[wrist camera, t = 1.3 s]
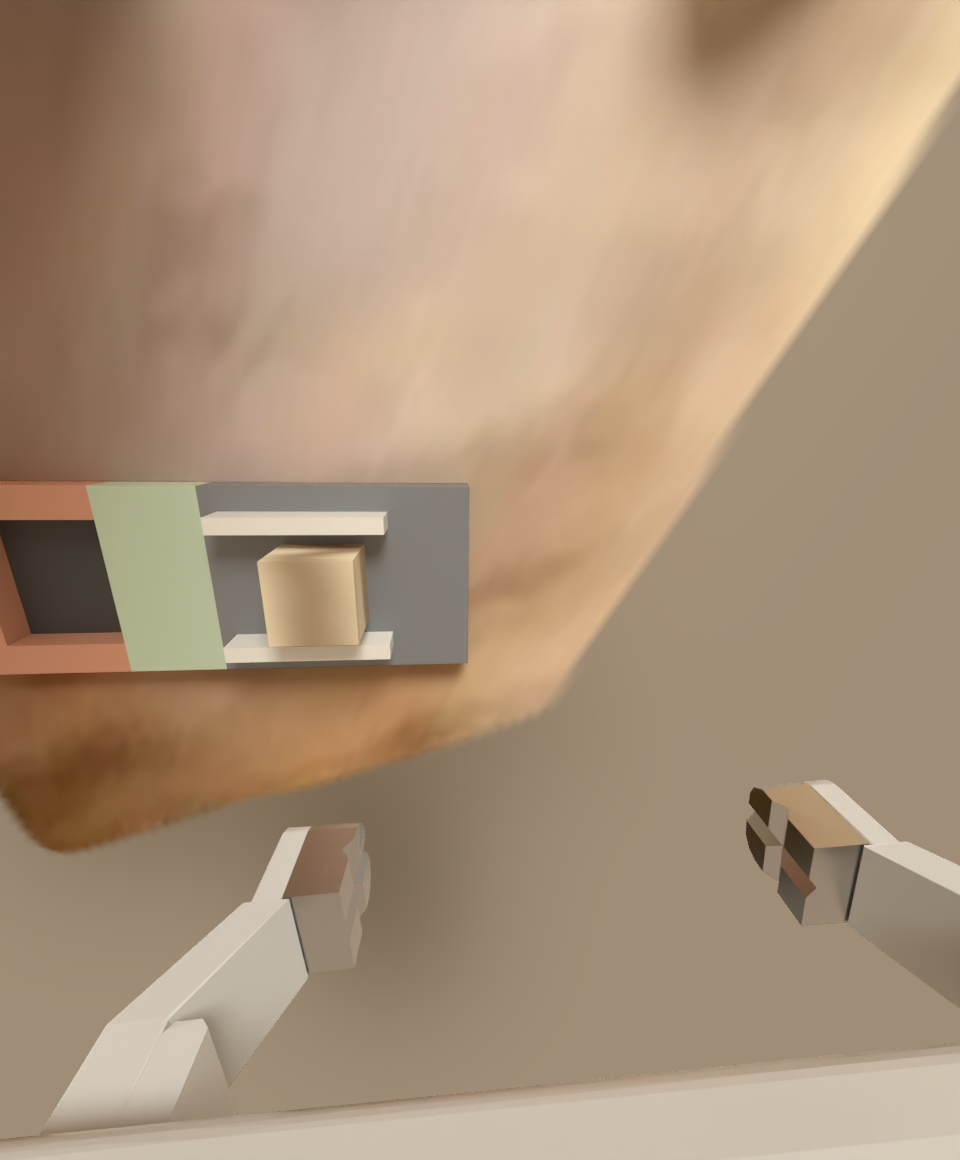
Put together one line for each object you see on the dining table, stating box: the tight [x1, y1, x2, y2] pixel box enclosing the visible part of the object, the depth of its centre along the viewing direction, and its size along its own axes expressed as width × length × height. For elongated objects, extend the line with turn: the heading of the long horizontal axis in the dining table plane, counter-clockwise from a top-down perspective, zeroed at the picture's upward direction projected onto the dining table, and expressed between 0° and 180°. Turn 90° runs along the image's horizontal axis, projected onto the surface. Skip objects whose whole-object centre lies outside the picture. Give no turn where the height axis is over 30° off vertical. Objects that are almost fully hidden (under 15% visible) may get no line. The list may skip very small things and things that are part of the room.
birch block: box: [257, 544, 369, 647], centre depth 28 cm, size 5×5×4 cm
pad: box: [86, 482, 227, 671], centre depth 30 cm, size 6×12×2 cm, turn 179°
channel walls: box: [200, 512, 394, 663], centre depth 28 cm, size 10×9×2 cm
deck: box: [0, 481, 469, 675], centre depth 30 cm, size 31×12×2 cm, turn 89°
